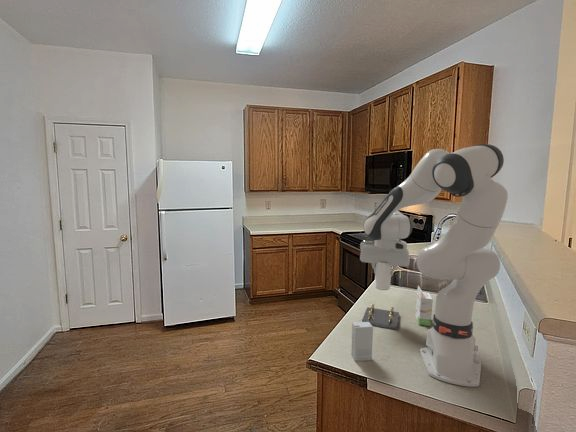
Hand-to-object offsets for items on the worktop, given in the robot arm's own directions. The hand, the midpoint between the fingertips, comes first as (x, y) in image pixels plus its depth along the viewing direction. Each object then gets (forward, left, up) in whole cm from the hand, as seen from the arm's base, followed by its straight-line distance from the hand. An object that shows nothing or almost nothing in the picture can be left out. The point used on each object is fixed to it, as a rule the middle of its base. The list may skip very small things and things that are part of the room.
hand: (383, 274), depth 138 cm
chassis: (0, 0, -20) cm, 20 cm away
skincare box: (-35, +3, -21) cm, 40 cm away
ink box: (+5, -17, -21) cm, 27 cm away
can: (0, 0, -6) cm, 6 cm away
